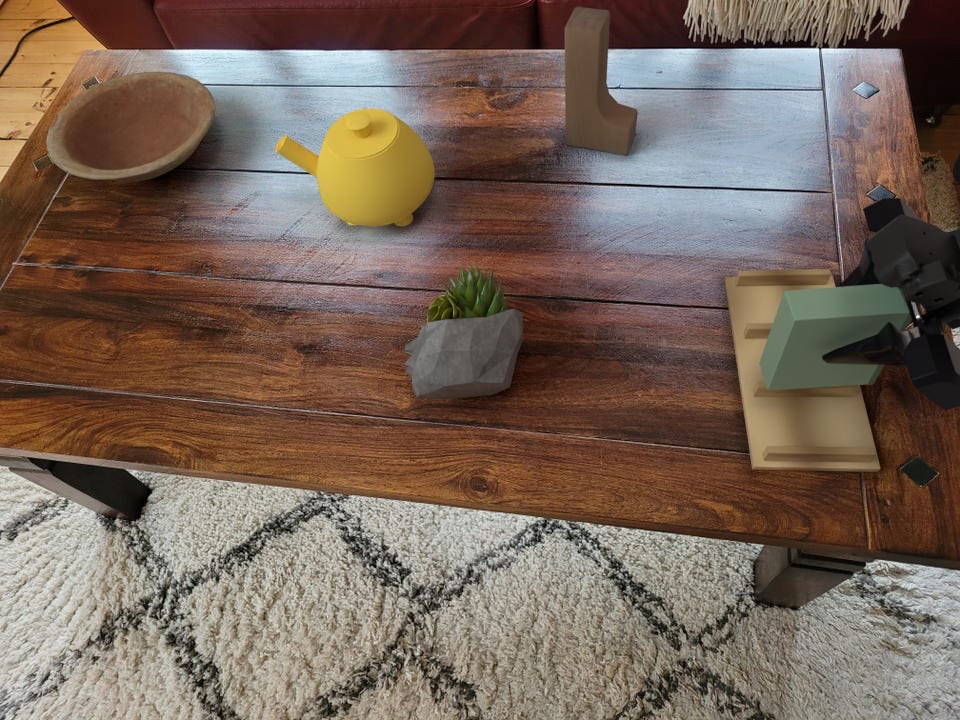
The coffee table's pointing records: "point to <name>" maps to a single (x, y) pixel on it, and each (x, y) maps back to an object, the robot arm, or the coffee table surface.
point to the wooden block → (593, 87)
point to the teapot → (368, 168)
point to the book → (828, 334)
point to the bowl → (131, 127)
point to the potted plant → (466, 341)
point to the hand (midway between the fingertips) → (819, 336)
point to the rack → (792, 412)
